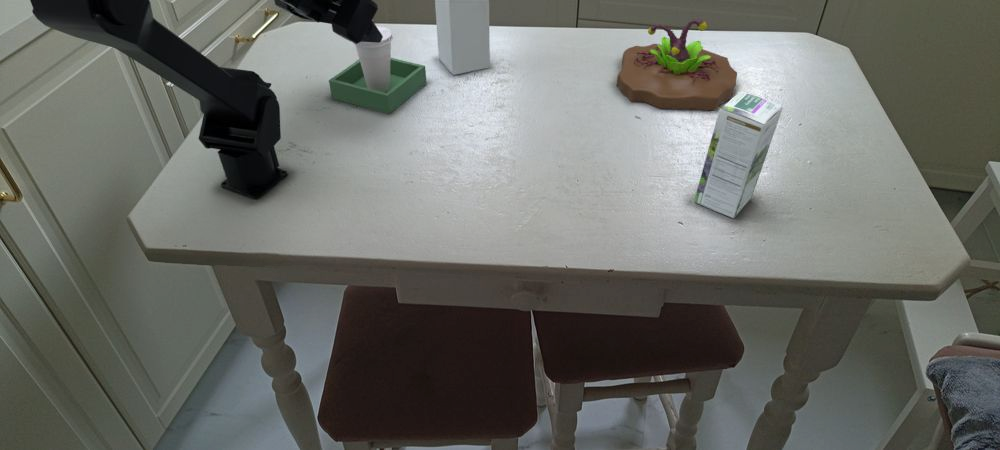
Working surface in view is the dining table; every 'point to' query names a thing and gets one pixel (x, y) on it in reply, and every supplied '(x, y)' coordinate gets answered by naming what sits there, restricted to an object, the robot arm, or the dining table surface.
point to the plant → (676, 73)
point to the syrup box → (737, 153)
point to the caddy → (355, 91)
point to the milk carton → (463, 34)
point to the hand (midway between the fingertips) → (361, 30)
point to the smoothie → (376, 61)
